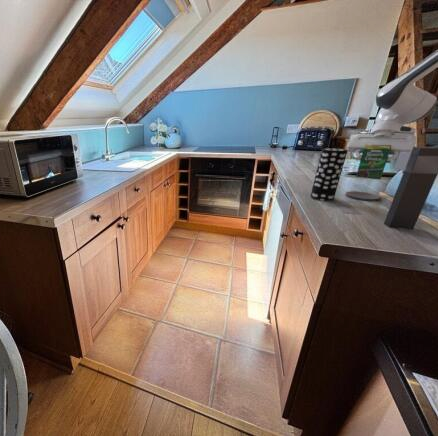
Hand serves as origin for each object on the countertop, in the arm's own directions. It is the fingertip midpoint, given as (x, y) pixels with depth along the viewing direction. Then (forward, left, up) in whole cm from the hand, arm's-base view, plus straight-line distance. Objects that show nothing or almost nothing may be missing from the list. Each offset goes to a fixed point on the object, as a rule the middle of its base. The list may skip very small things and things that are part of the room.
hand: (373, 160), depth 97 cm
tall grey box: (+13, +26, -15) cm, 33 cm away
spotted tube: (+17, -1, -15) cm, 23 cm away
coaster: (0, 0, -15) cm, 15 cm away
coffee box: (0, 0, -7) cm, 7 cm away
